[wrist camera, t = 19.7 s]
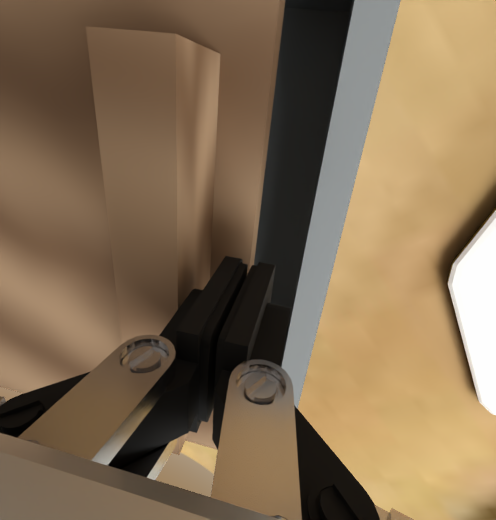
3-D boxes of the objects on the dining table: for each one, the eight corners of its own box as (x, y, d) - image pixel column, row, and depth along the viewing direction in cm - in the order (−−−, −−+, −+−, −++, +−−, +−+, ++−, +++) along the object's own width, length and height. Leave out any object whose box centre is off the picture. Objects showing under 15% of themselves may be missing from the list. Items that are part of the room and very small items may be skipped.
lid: (-198, -129, 10) (-473, -250, 7) (301, -131, 8) (278, -322, 4) (-7, 368, 20) (-77, 423, 17) (233, 435, 18) (210, 516, 14)
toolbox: (-38, -36, 18) (-270, -123, 11) (381, -14, 14) (431, -123, 7) (41, 289, 28) (-53, 351, 21) (299, 348, 25) (287, 445, 18)
